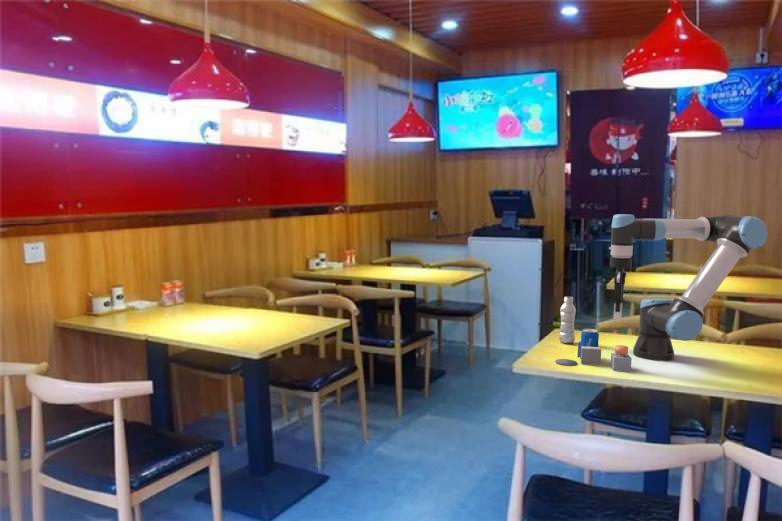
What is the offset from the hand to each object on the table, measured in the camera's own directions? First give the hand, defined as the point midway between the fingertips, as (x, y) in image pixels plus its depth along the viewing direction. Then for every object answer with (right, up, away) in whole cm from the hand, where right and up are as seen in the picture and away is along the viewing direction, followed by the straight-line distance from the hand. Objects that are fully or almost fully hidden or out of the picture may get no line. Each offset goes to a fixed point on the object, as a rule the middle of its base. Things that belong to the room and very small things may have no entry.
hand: (617, 320), depth 226 cm
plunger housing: (+1, -18, 0) cm, 18 cm away
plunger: (+1, -17, 0) cm, 17 cm away
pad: (-17, -17, +7) cm, 25 cm away
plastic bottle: (-8, -14, +38) cm, 41 cm away
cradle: (-7, -17, +11) cm, 21 cm away
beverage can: (-7, -17, +11) cm, 21 cm away
